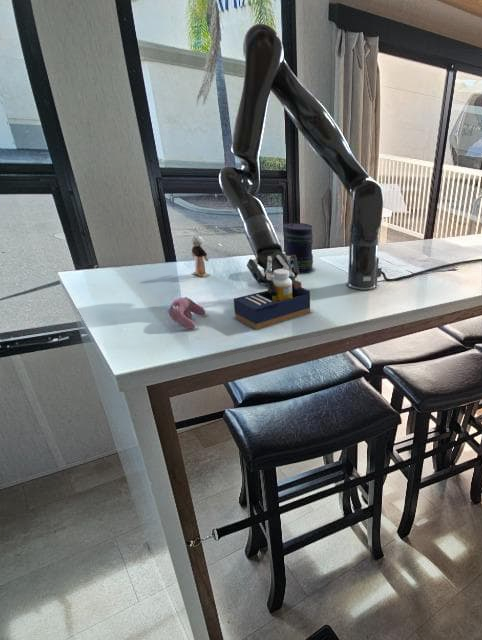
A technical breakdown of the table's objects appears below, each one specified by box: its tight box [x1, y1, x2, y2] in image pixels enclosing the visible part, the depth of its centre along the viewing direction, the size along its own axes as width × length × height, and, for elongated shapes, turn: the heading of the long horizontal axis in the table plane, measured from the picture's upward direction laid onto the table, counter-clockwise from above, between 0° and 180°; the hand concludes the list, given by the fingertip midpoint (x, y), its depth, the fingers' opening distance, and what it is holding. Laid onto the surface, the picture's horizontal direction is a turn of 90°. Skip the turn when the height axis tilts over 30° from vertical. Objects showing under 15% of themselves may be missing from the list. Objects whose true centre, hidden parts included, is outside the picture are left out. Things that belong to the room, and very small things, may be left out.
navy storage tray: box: [232, 279, 311, 330], centre depth 113 cm, size 18×9×8 cm, turn 142°
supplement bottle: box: [272, 268, 293, 302], centre depth 114 cm, size 5×5×10 cm
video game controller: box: [167, 296, 206, 330], centre depth 105 cm, size 10×5×7 cm, turn 5°
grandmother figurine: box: [190, 234, 210, 278], centre depth 133 cm, size 8×4×13 cm, turn 68°
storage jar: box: [283, 222, 314, 275], centre depth 147 cm, size 10×10×15 cm
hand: (285, 293), depth 113 cm, fingers closed on supplement bottle, 5 cm apart
